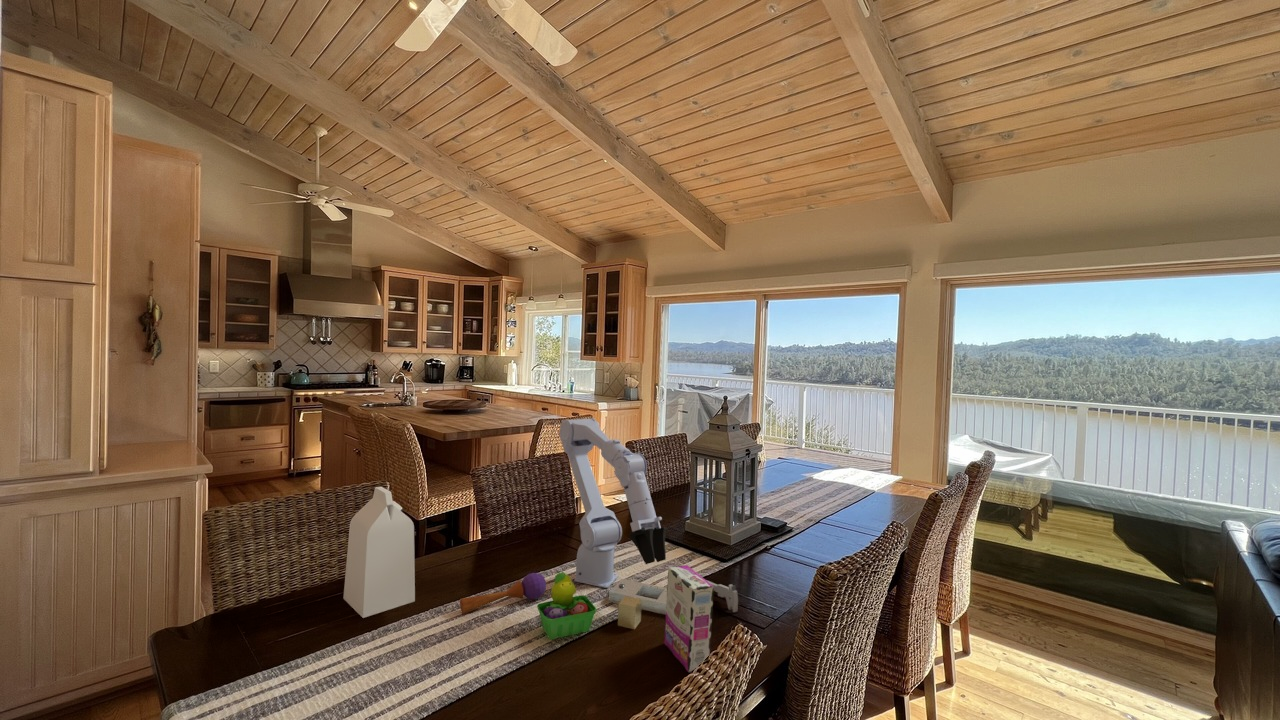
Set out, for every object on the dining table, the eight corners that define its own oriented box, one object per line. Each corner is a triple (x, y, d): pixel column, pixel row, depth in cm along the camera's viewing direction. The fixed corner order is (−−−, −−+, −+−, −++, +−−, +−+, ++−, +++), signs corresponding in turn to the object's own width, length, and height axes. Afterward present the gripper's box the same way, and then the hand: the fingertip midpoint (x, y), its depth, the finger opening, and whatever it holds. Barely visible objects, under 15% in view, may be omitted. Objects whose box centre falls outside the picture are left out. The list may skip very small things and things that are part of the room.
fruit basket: (545, 644, 110) (548, 590, 110) (533, 623, 118) (535, 573, 118) (597, 633, 116) (599, 581, 115) (582, 614, 123) (584, 565, 123)
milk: (343, 598, 125) (347, 488, 125) (393, 583, 134) (397, 480, 133) (362, 617, 117) (366, 500, 116) (414, 601, 126) (418, 491, 125)
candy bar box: (711, 669, 105) (715, 586, 104) (688, 674, 103) (692, 589, 102) (684, 639, 115) (687, 563, 114) (663, 643, 113) (666, 566, 112)
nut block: (617, 625, 119) (618, 603, 119) (624, 617, 123) (625, 595, 123) (634, 629, 118) (635, 607, 118) (640, 621, 122) (641, 599, 121)
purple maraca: (457, 589, 124) (539, 567, 135) (459, 616, 124) (542, 592, 134) (463, 596, 119) (548, 572, 129) (466, 623, 119) (550, 598, 129)
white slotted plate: (608, 601, 130) (609, 590, 130) (621, 588, 137) (621, 577, 137) (680, 618, 124) (681, 606, 124) (689, 602, 131) (689, 591, 131)
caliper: (737, 613, 128) (739, 587, 127) (734, 614, 127) (735, 588, 127) (691, 578, 146) (692, 555, 146) (688, 579, 145) (689, 556, 145)
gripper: (644, 496, 121) (661, 558, 116) (665, 499, 134) (681, 555, 128) (616, 506, 122) (632, 567, 117) (639, 508, 135) (654, 563, 130)
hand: (656, 561), depth 123 cm, fingers open, 7 cm apart
